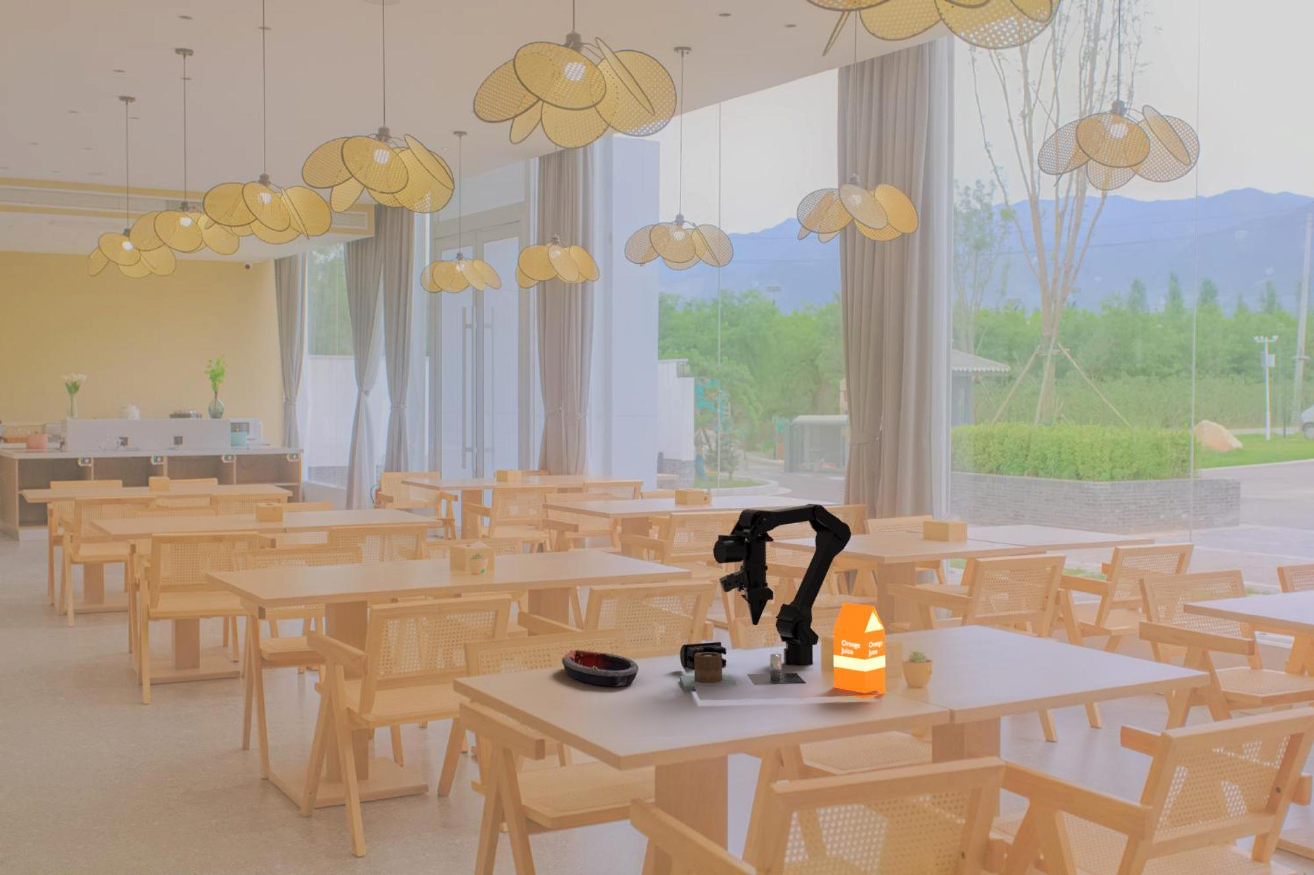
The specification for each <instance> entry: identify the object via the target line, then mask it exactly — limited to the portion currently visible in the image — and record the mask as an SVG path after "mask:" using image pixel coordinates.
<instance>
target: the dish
mask: <svg viewBox="0 0 1314 875" xmlns="http://www.w3.org/2000/svg"><path fill="white" fill-rule="evenodd" d="M561 663H562V665H563V668H564V670H565V672H566V673H567V674H568V675H569V676H570V677H573V678H574V679H575V680H578V681H581V682H583V683H586V684H591V685H594V686H595V685H596V686H603V687H623V686H625V685H628V684H631V683H633V682H634V680H635V679H636V677H637V674H638V672H639V666H638V664H637V662H635V661H634V660H632V659H630V658H628V657H625V656H621V655H618V654H614V653H608V652H600V651H592V650H591V651H590V650H581V649H580V650H579V649H575V650H570V651H569V652H567V653H566V654H565V655H563V657H562V659H561Z"/></svg>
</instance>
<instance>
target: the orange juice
mask: <svg viewBox="0 0 1314 875" xmlns="http://www.w3.org/2000/svg"><path fill="white" fill-rule="evenodd" d="M885 633H886V629H885V627H884V625H883V623H882V621H881V619H880V617H879V615H878V613H877V610H876V607H875V606H872V605H867V604H866V605H864V604H856V603H850V602H849V603H848V602H843V603H842V606H841V609H840V612H839V614H838V617H837V618H836V622H835V624H834V627H833V688H835V689H836V688H837V689H841V690H847V691H853V692H857V693H863V695H854V697H856V698H859V699H868V698H872V697H876V696H878V694H880V695H883V694H886V634H885ZM875 691H876V692H878V694H871V695H869V694H867V693H871V692H875ZM864 694H865V695H864ZM866 694H867V695H866Z"/></svg>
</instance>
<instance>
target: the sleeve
mask: <svg viewBox="0 0 1314 875" xmlns="http://www.w3.org/2000/svg"><path fill="white" fill-rule="evenodd" d="M704 655H712V656H710V657H708V656H704ZM722 658H723V654H719V653H713V652H704V653H696V654H695V655H694V669H693V670H694V676H695V681H697V682H699V683H716V682H720V681H722V675H723V667H722Z"/></svg>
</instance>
